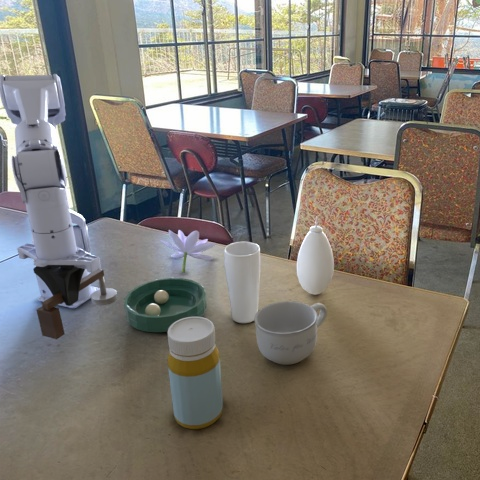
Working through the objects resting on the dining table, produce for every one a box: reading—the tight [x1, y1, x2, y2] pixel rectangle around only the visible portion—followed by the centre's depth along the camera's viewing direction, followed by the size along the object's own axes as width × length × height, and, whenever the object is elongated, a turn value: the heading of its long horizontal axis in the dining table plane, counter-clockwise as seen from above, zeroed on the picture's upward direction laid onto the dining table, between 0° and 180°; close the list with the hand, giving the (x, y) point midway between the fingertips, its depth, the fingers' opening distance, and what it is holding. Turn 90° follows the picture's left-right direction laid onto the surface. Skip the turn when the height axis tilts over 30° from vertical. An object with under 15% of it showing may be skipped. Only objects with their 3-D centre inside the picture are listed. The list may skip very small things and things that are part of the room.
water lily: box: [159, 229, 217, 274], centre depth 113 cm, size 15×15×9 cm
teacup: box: [253, 300, 328, 366], centre depth 84 cm, size 14×11×8 cm
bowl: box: [123, 277, 208, 333], centre depth 95 cm, size 15×15×4 cm
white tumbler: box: [223, 241, 262, 324], centre depth 92 cm, size 7×7×15 cm
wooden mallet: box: [35, 268, 118, 340], centre depth 83 cm, size 15×4×6 cm, turn 162°
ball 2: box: [154, 290, 169, 304], centre depth 97 cm, size 3×3×3 cm
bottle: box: [167, 316, 224, 430], centre depth 68 cm, size 7×7×15 cm
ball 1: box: [145, 304, 161, 316], centre depth 92 cm, size 3×3×3 cm
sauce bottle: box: [296, 215, 335, 296], centre depth 101 cm, size 8×8×18 cm
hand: (67, 301), depth 80 cm, fingers closed on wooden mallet
